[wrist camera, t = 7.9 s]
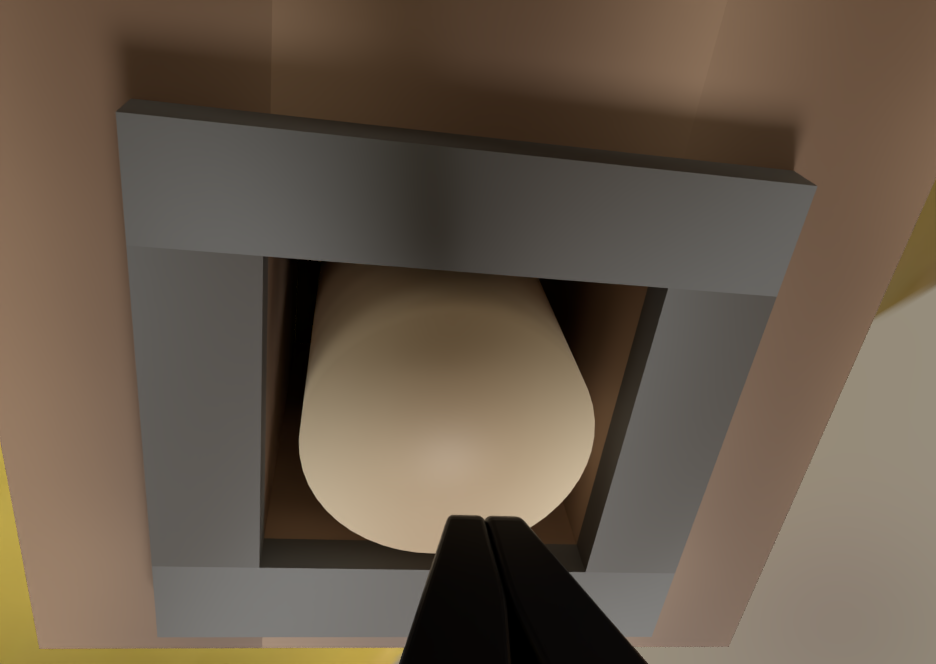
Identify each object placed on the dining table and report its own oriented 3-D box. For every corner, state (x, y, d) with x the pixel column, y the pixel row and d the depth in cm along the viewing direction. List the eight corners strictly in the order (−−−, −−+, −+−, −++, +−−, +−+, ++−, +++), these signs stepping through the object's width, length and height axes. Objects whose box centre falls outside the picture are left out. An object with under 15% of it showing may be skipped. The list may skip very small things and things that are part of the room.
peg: (317, 341, 16) (294, 551, 11) (326, 154, 14) (304, 303, 9) (503, 352, 17) (563, 555, 12) (535, 176, 15) (625, 324, 10)
